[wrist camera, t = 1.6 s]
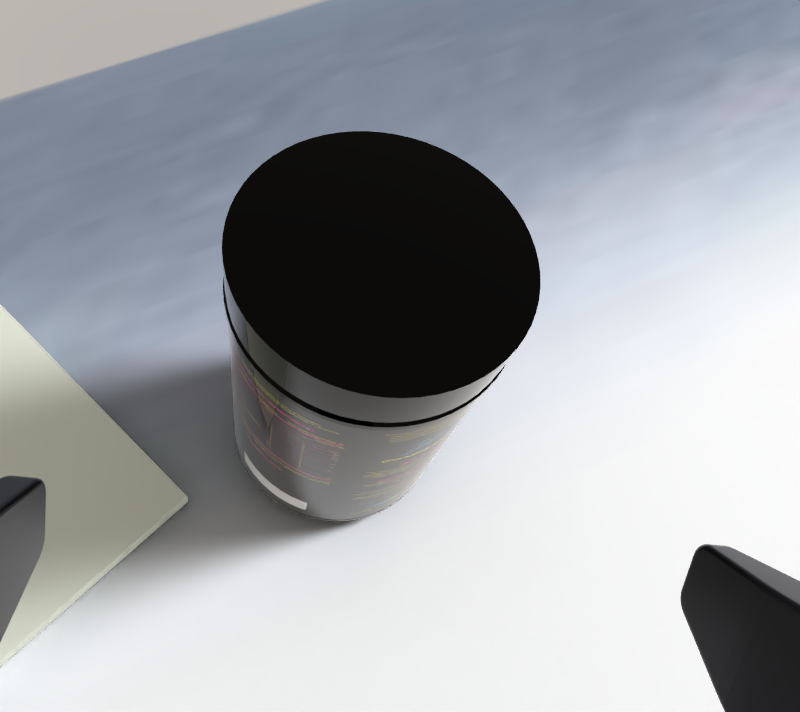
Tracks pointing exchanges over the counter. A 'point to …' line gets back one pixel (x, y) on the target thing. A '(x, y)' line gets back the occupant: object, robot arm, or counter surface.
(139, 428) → the counter surface
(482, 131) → the counter surface
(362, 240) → the supplement container
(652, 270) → the counter surface
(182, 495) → the mat
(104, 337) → the counter surface
